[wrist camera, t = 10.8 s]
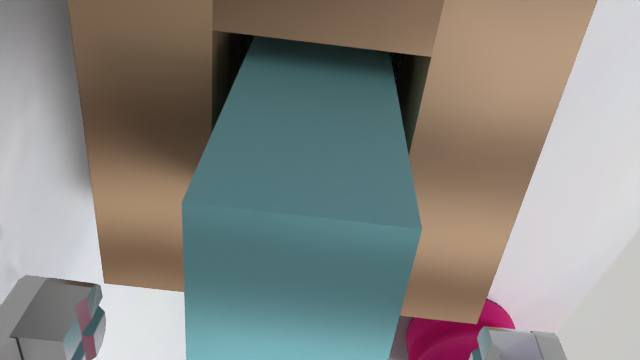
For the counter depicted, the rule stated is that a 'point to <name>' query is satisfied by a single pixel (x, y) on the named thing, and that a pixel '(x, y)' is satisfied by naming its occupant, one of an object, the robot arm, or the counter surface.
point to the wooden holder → (414, 100)
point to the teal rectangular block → (301, 210)
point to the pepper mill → (452, 335)
